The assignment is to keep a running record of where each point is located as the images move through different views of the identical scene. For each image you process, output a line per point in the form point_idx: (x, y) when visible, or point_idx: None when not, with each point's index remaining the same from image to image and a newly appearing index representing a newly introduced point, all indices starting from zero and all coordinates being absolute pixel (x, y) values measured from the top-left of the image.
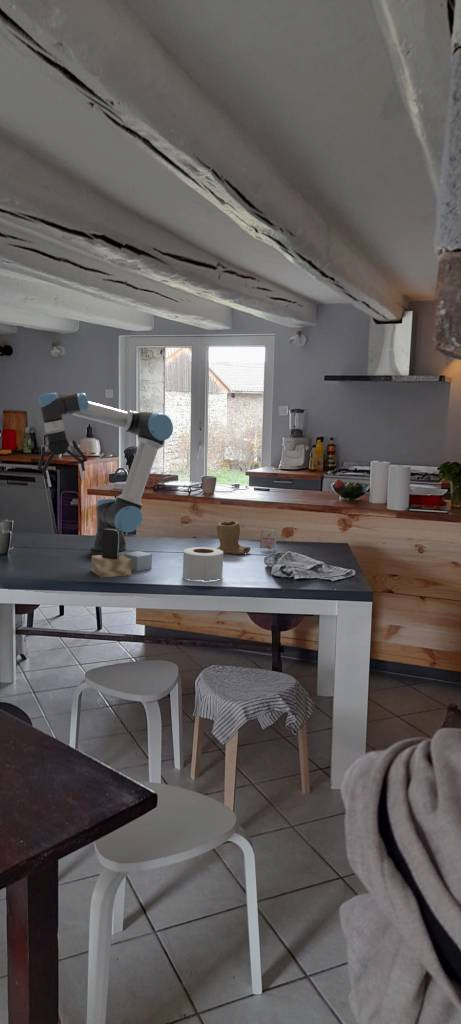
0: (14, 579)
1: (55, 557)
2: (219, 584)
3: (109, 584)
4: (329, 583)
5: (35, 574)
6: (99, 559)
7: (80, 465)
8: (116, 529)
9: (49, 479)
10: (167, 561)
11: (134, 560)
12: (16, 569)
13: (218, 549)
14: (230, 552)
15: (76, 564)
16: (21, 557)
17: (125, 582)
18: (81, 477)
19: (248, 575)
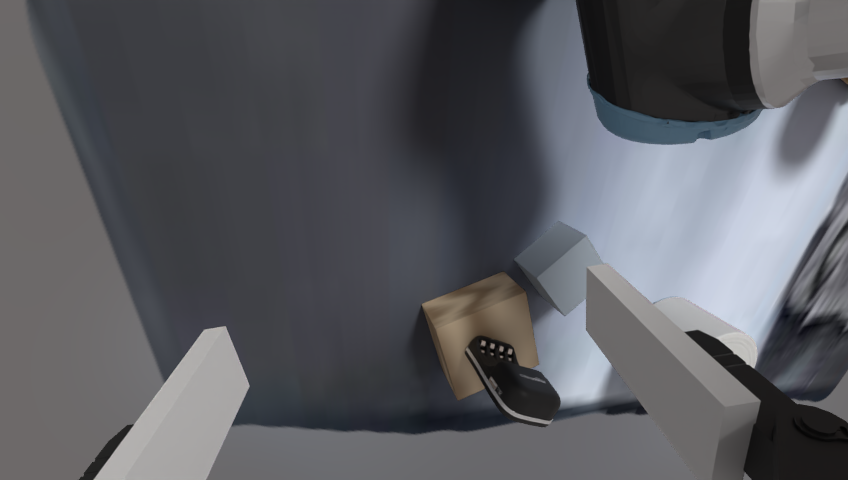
0: None
1: (287, 103)
2: None
3: (456, 424)
4: (829, 347)
5: (254, 366)
6: (455, 372)
7: (707, 469)
8: (553, 411)
9: (212, 455)
10: (647, 169)
11: (551, 301)
12: (170, 314)
13: (754, 355)
14: (842, 79)
15: (376, 225)
16: (125, 101)
17: (493, 402)
18: (596, 305)
19: (747, 307)
